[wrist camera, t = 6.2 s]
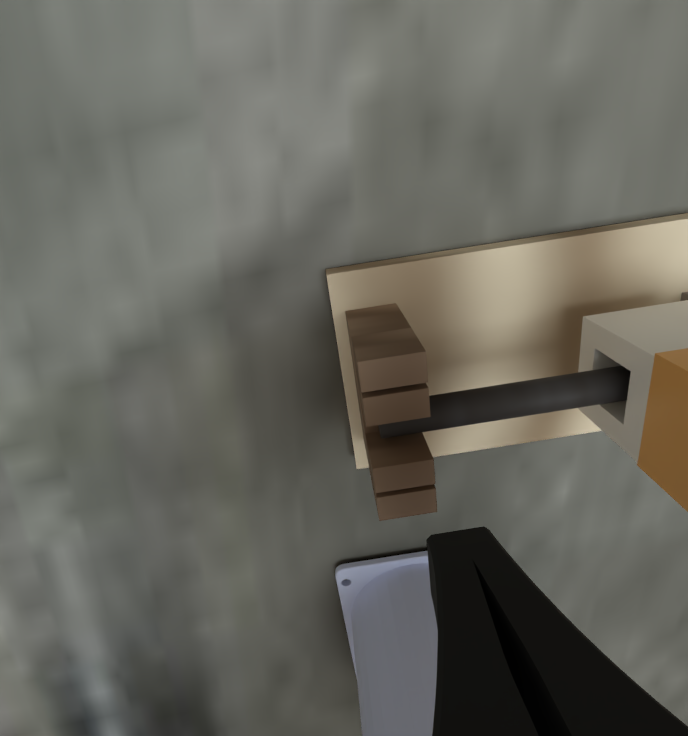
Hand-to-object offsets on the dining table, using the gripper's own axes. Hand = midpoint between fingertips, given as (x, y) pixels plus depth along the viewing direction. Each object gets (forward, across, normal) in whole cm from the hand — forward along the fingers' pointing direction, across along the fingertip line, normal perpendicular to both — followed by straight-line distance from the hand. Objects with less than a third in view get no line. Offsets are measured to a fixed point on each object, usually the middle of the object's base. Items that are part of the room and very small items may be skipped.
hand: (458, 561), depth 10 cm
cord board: (+10, -7, 0) cm, 13 cm away
